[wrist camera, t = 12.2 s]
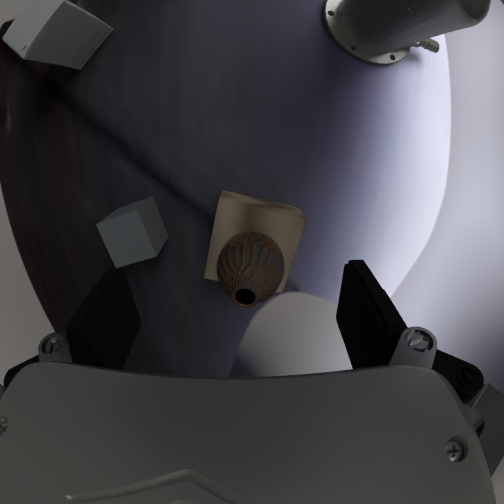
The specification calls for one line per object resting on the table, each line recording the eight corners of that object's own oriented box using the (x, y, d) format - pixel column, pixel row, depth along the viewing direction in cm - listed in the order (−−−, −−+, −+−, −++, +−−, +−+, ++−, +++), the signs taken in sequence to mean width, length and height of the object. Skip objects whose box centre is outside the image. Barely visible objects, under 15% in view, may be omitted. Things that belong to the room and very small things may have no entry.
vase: (291, 266, 32) (294, 317, 24) (237, 281, 34) (225, 331, 26) (272, 213, 29) (269, 253, 21) (214, 232, 31) (192, 275, 23)
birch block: (298, 207, 35) (306, 219, 30) (278, 273, 39) (282, 292, 34) (222, 189, 33) (218, 200, 29) (208, 259, 38) (203, 278, 33)
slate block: (153, 195, 33) (136, 209, 28) (168, 236, 36) (156, 256, 30) (116, 209, 34) (96, 224, 28) (132, 247, 36) (116, 268, 31)
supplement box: (115, 29, 22) (65, 0, 11) (80, 71, 25) (21, 61, 13) (88, 11, 20) (38, -15, 9) (56, 50, 22) (-1, 39, 11)
